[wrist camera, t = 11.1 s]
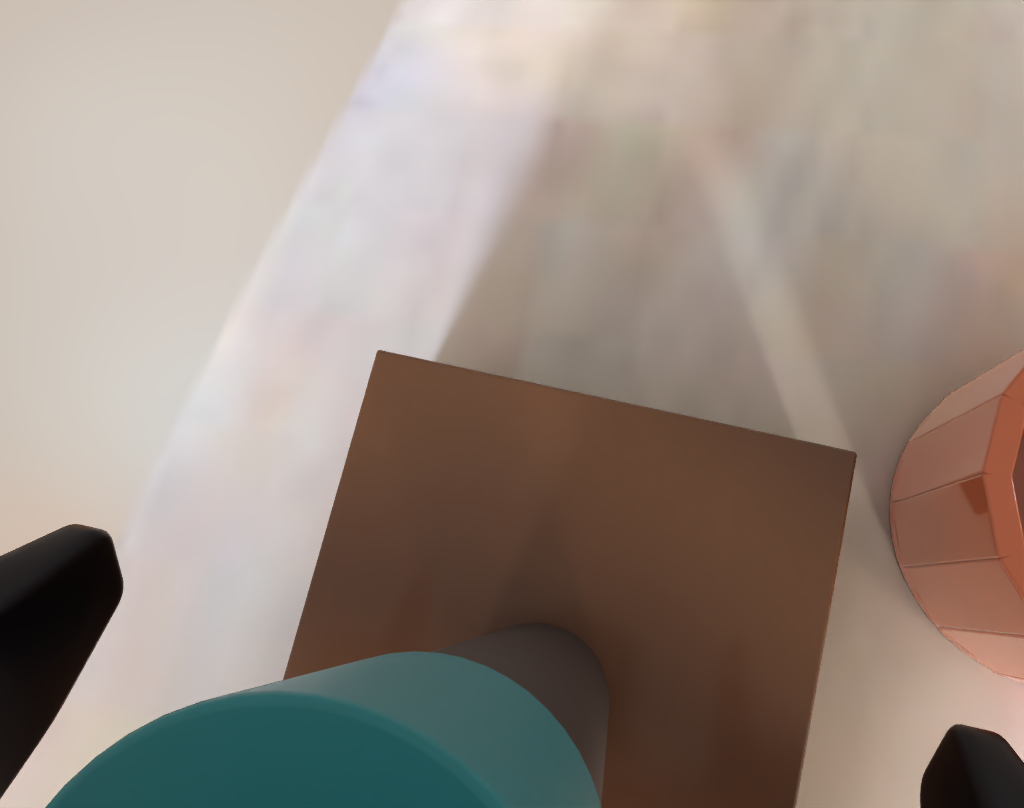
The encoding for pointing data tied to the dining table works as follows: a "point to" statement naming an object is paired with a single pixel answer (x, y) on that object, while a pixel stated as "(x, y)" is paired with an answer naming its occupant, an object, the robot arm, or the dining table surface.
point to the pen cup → (968, 517)
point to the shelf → (595, 565)
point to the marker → (380, 736)
